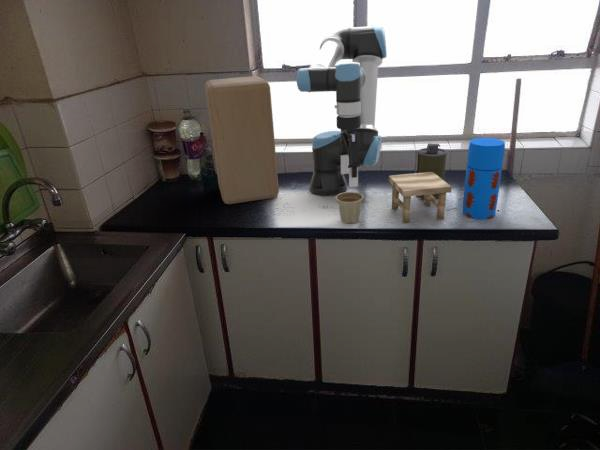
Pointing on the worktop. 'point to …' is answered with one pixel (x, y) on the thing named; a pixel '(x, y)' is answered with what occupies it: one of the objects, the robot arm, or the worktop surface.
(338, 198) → the flower pot
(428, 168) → the canister
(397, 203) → the footstool
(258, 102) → the block
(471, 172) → the thermos
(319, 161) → the robot arm
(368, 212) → the worktop surface
